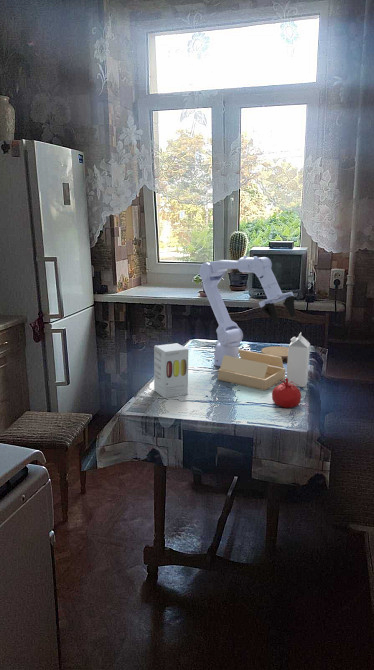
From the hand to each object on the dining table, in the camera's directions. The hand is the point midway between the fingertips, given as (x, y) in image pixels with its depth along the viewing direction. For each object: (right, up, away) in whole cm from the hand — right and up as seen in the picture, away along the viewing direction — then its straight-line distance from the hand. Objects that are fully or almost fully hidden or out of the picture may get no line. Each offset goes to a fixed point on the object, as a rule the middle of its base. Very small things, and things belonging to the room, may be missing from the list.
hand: (285, 319), depth 188 cm
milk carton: (+5, -24, +3) cm, 25 cm away
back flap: (-8, -15, +11) cm, 20 cm away
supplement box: (-42, -26, -7) cm, 50 cm away
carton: (-12, -23, +7) cm, 27 cm away
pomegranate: (-3, -29, -18) cm, 34 cm away
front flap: (-15, -18, +1) cm, 23 cm away
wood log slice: (+4, -16, +37) cm, 41 cm away
